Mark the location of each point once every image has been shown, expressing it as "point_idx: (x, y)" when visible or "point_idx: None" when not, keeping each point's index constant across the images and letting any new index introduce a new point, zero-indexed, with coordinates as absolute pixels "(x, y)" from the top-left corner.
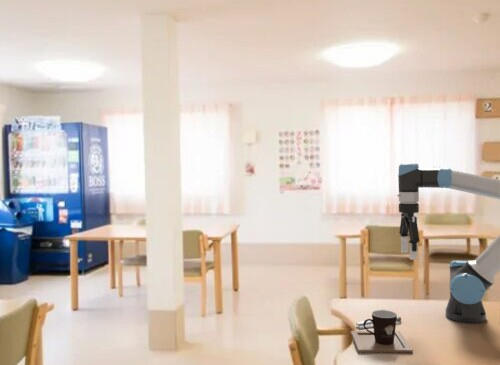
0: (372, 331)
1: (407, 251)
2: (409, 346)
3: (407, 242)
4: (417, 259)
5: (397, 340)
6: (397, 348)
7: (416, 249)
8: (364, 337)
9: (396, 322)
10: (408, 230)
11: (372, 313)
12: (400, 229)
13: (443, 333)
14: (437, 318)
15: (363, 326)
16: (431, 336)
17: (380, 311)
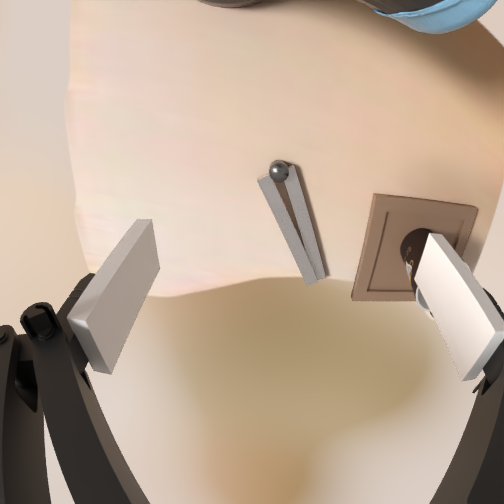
0: (367, 260)
1: (149, 230)
2: (462, 208)
3: (115, 280)
4: (442, 235)
5: (420, 217)
6: (462, 235)
7: (493, 300)
8: (386, 278)
9: (298, 179)
10: (439, 495)
11: (429, 309)
12: (37, 420)
13: (382, 74)
14: (246, 37)
15: (322, 269)
16: (400, 117)
17: (417, 287)
